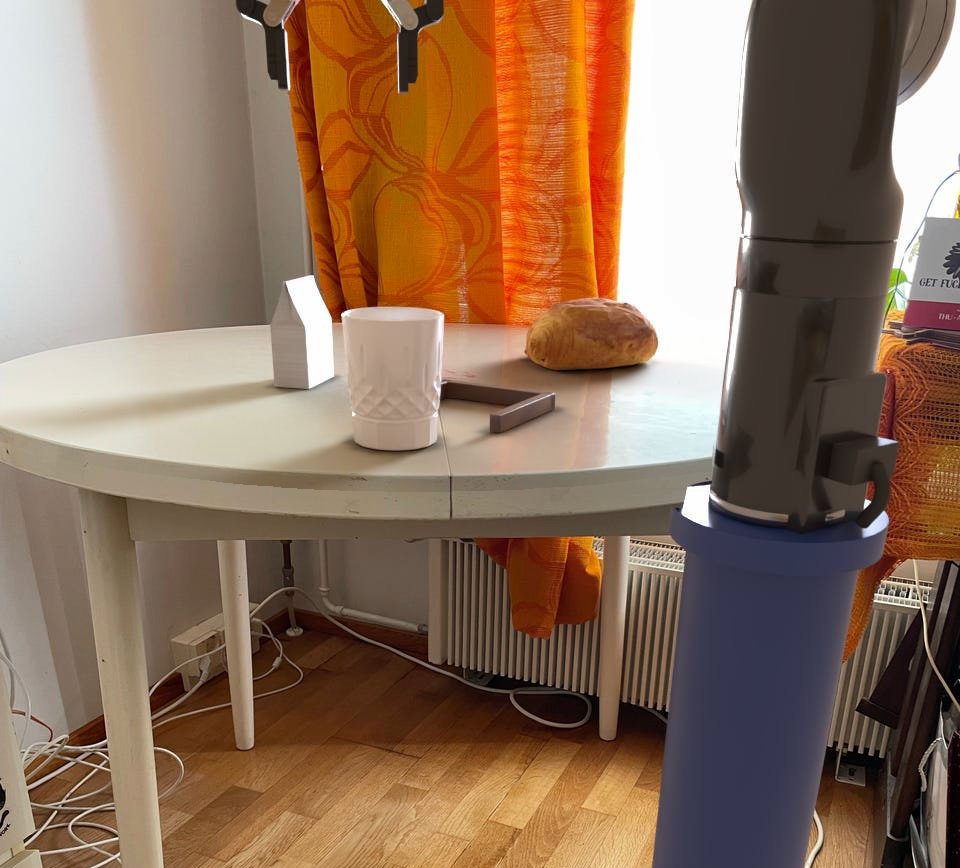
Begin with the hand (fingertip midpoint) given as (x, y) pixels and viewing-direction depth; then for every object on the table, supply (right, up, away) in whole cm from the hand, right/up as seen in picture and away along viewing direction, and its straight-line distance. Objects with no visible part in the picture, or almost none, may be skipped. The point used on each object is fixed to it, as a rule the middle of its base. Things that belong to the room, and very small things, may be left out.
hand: (344, 91), depth 74 cm
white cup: (+3, -24, +10) cm, 26 cm away
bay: (+9, -19, +19) cm, 28 cm away
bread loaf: (+22, -8, +44) cm, 50 cm away
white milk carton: (-8, -13, +31) cm, 35 cm away
